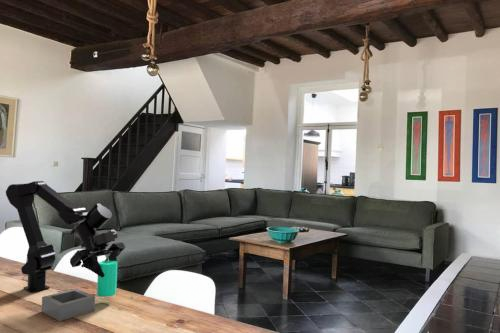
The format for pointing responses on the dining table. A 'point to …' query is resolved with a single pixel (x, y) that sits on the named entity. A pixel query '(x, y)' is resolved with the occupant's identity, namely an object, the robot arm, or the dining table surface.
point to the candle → (107, 279)
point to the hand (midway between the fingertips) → (110, 274)
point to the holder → (68, 304)
